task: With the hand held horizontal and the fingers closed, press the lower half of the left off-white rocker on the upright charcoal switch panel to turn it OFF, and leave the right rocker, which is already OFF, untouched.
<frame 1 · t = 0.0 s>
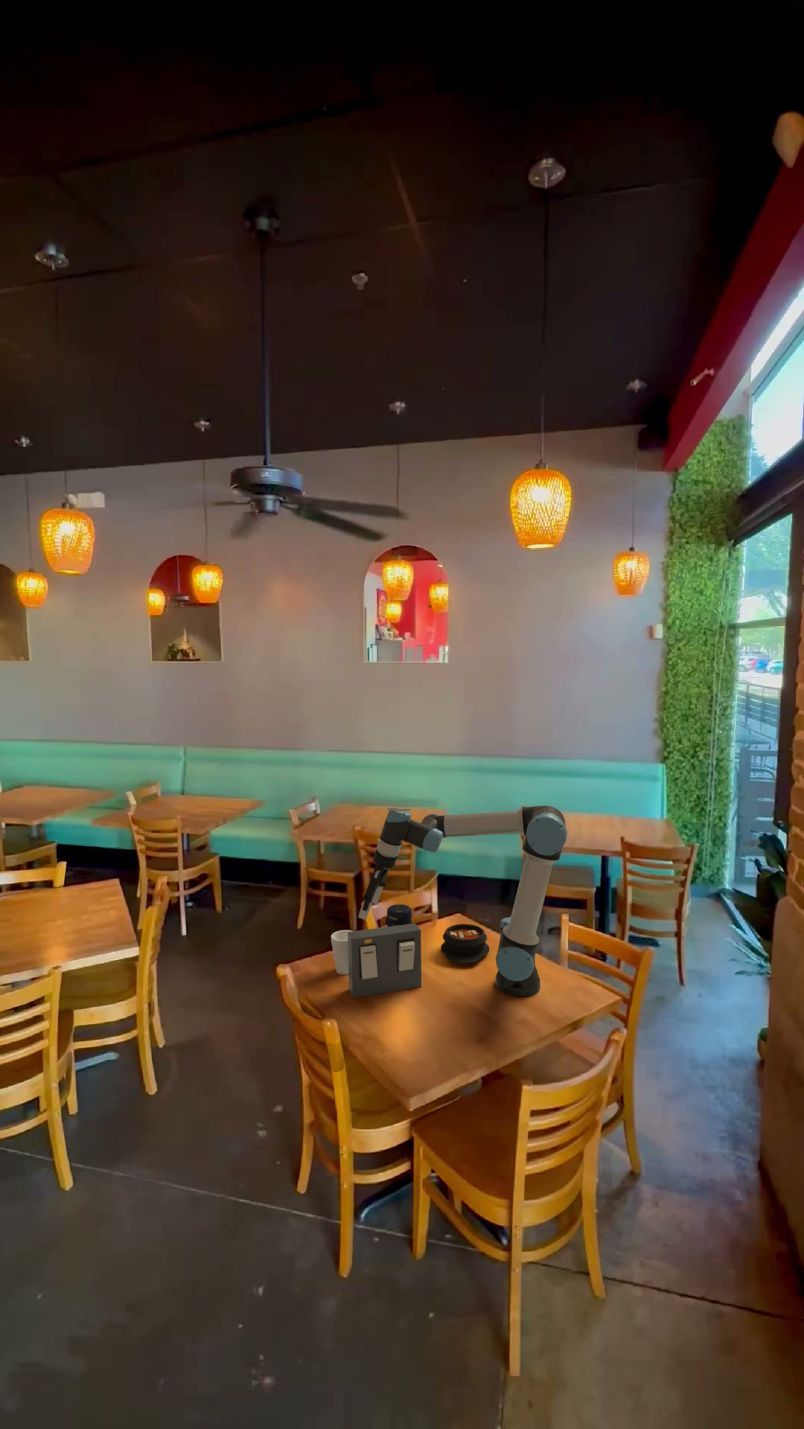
hand: (368, 910, 214), 28 cm above the table, tool tilted 20°, fingers open, 13 cm apart
canister: (400, 951, 246), on the table
right rocker: (406, 956, 215), point 12 cm above the table, hinge at -14.0°
switch panel: (385, 987, 218), on the table
left rocker: (368, 961, 211), point 12 cm above the table, hinge at 14.0°
casserole: (465, 953, 244), on the table
foam cup: (345, 970, 231), on the table
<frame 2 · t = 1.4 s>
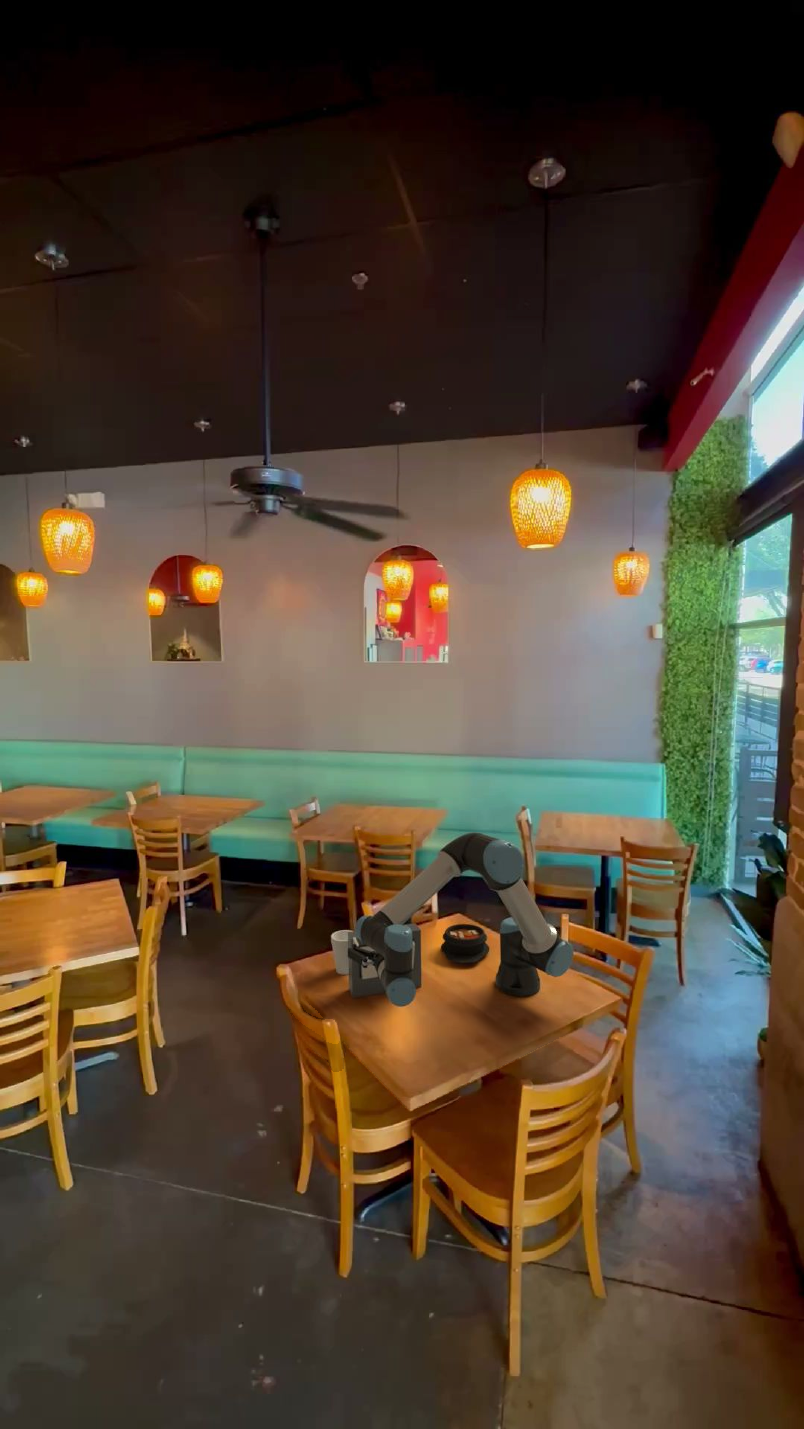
hand: (375, 939, 203), 23 cm above the table, tool horizontal, fingers open, 13 cm apart
nothing on the table moved.
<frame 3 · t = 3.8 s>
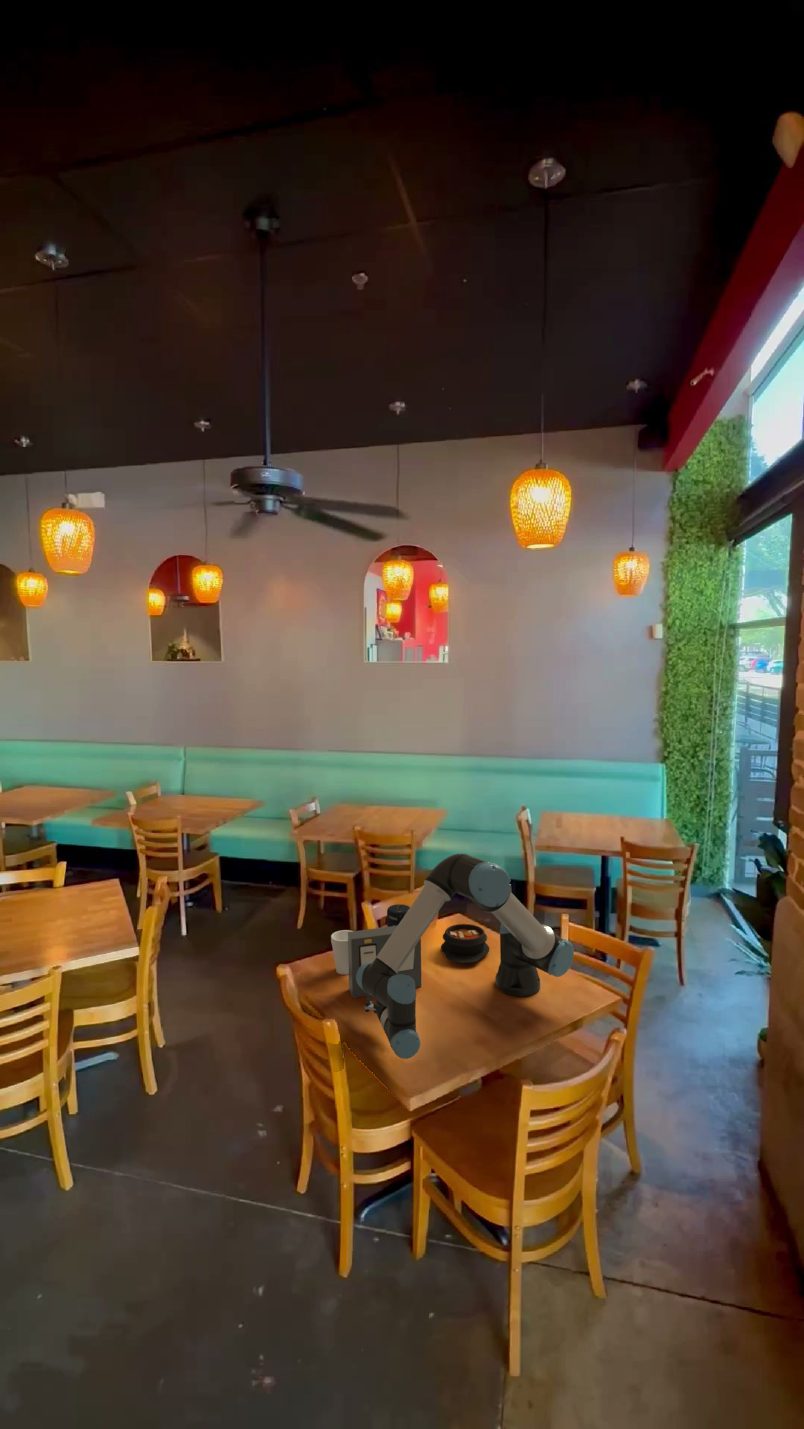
hand: (373, 978, 204), 10 cm above the table, tool horizontal, fingers closed
nothing on the table moved.
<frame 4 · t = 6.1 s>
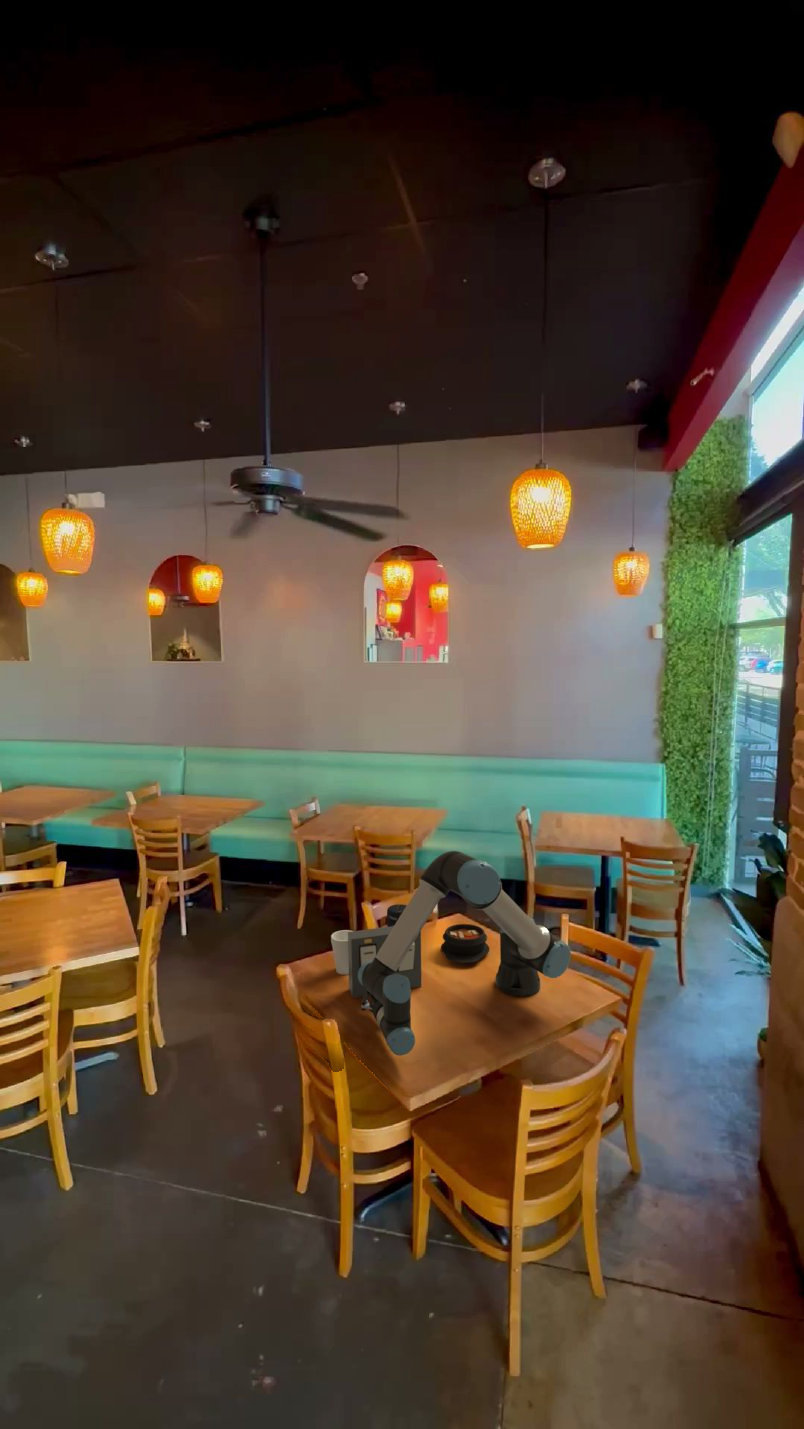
hand: (369, 978, 210), 7 cm above the table, tool horizontal, fingers closed
left rocker: (368, 961, 211), point 12 cm above the table, hinge at 10.7°, touching gripper
everything else where it was.
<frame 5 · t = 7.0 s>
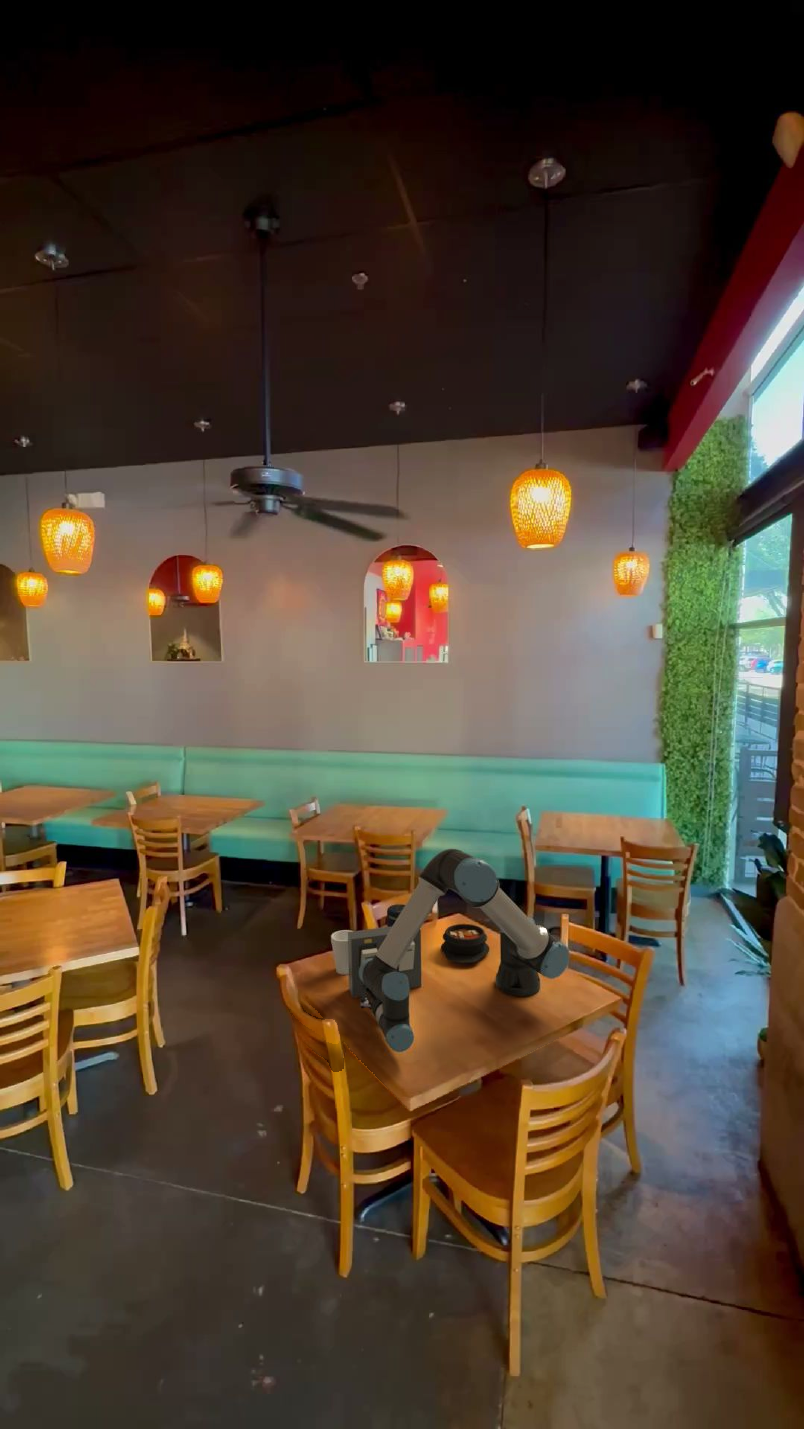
hand: (367, 976, 212), 7 cm above the table, tool horizontal, fingers closed
left rocker: (368, 961, 211), point 12 cm above the table, hinge at -24.9°, touching gripper
everything else where it was.
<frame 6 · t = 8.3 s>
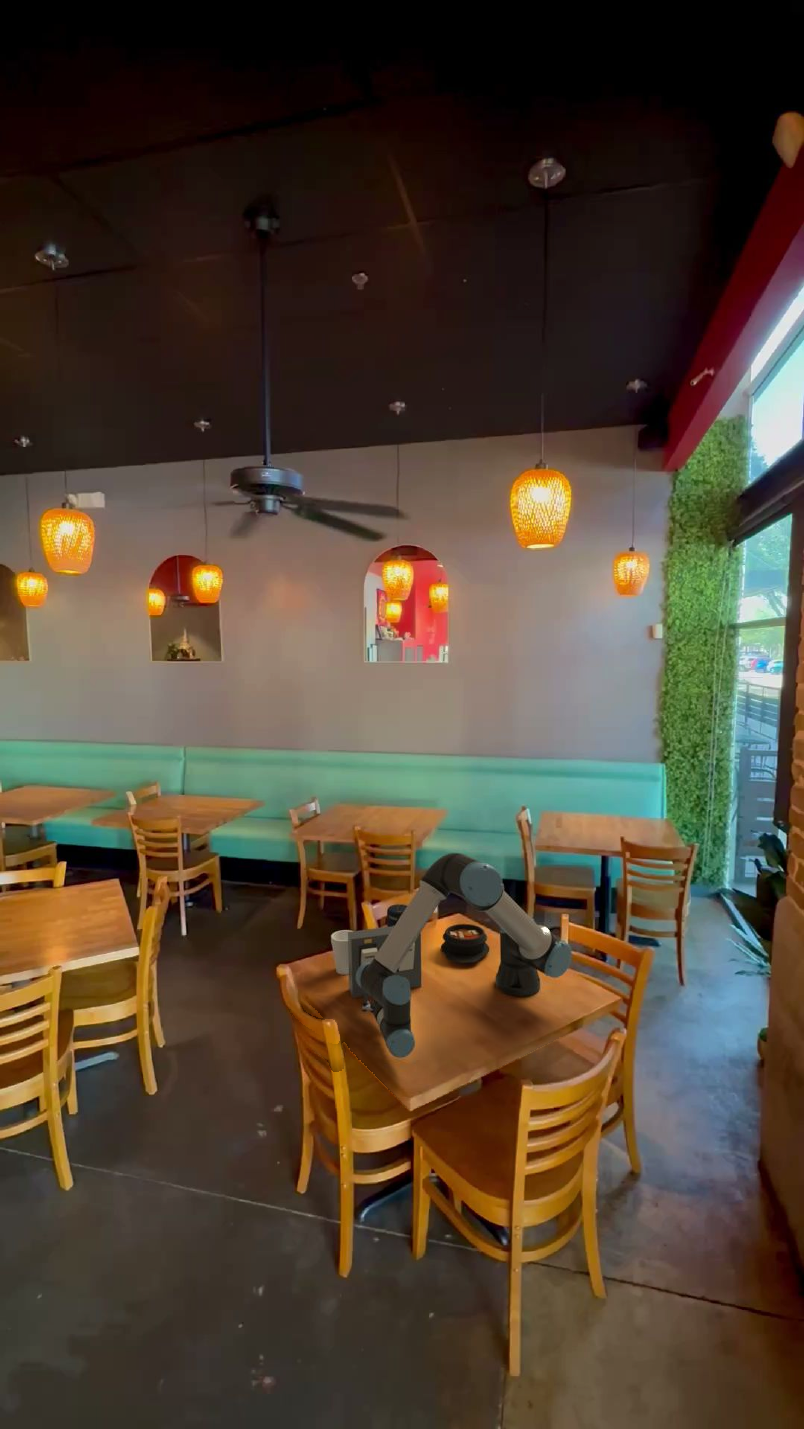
hand: (371, 979, 208), 8 cm above the table, tool horizontal, fingers closed
left rocker: (368, 961, 211), point 12 cm above the table, hinge at -21.5°
everything else where it was.
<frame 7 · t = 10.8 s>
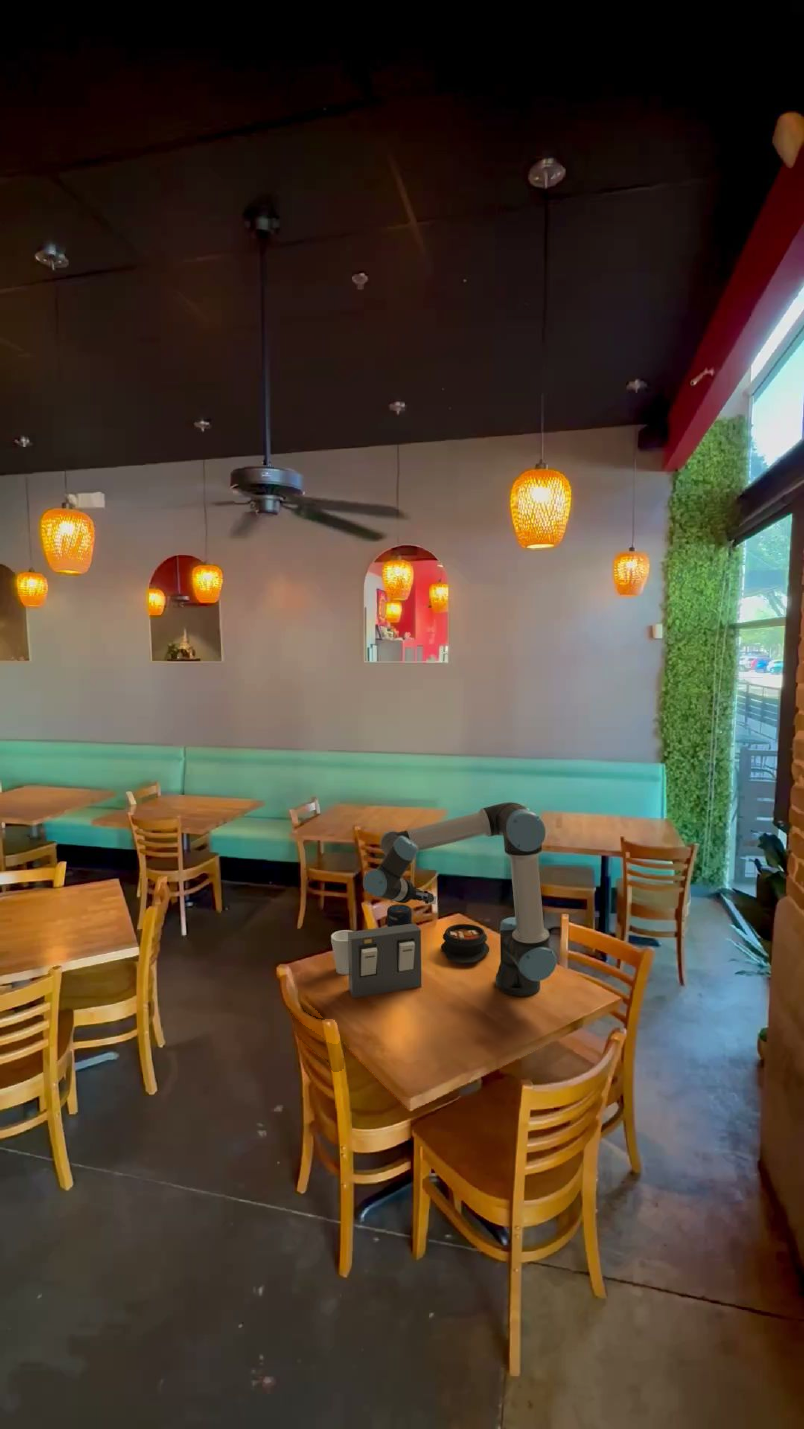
hand: (434, 900, 220), 29 cm above the table, tool tilted 65°, fingers closed
left rocker: (368, 961, 211), point 12 cm above the table, hinge at -20.1°
everything else where it was.
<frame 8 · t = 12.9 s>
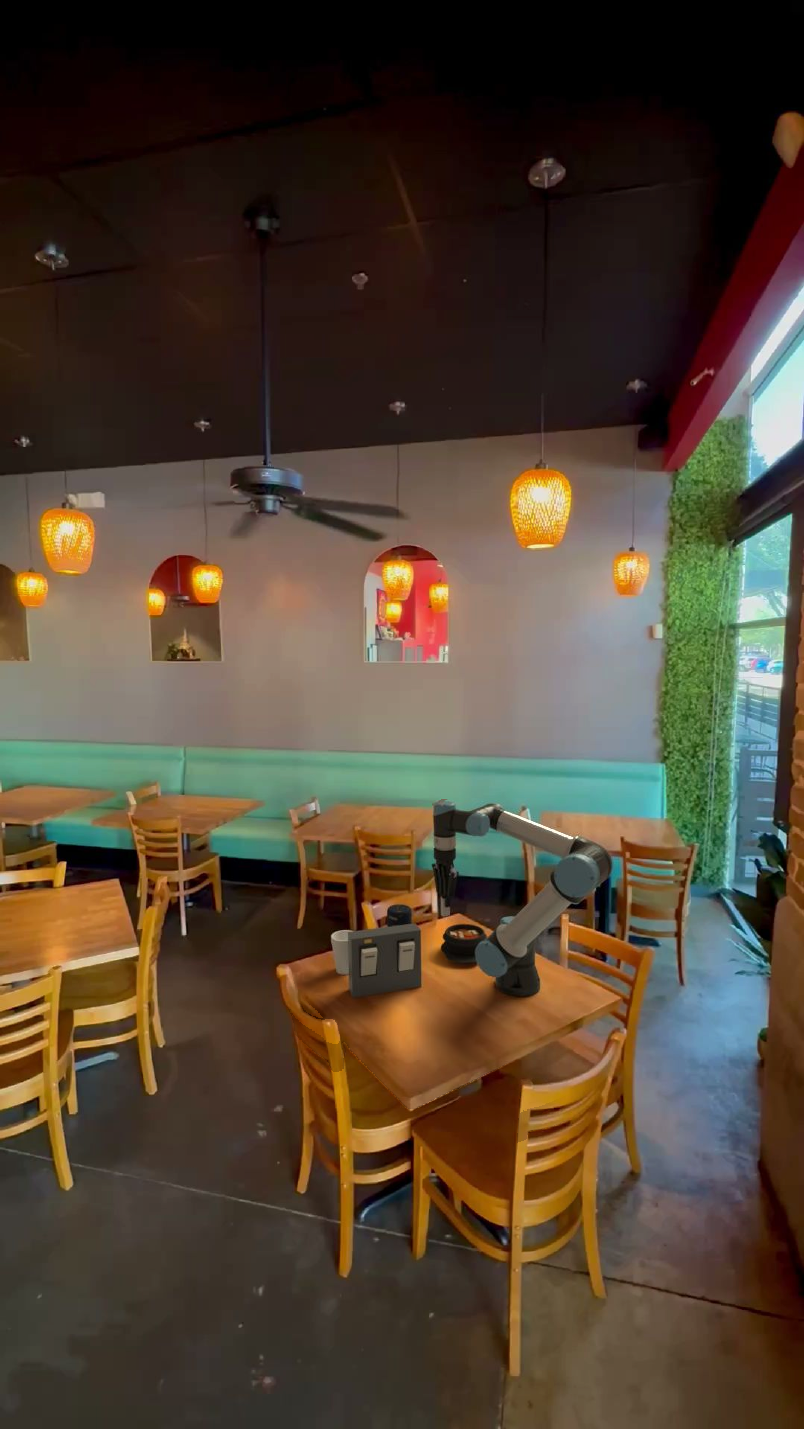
hand: (445, 915, 218), 24 cm above the table, tool pointing down, fingers closed
nothing on the table moved.
at the end: left rocker at -20° (first picture: +14°); right rocker at -14° (first picture: -14°) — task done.
